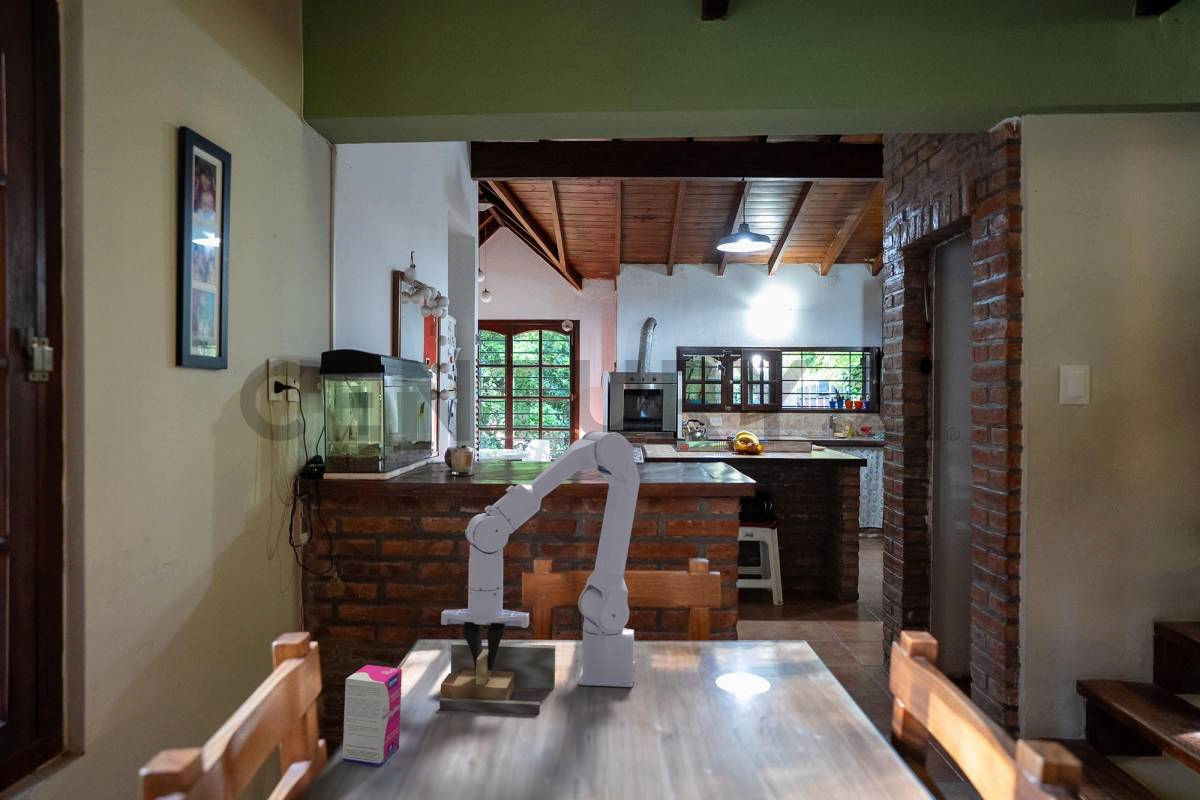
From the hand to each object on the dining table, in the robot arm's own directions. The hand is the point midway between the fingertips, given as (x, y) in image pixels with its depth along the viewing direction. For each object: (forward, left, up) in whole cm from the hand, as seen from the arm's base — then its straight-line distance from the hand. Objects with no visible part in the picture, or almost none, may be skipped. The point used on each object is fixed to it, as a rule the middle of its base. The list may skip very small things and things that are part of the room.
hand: (484, 667), depth 121 cm
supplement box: (+11, +21, -5) cm, 24 cm away
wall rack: (-2, 0, -5) cm, 5 cm away
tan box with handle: (0, 0, -5) cm, 5 cm away
